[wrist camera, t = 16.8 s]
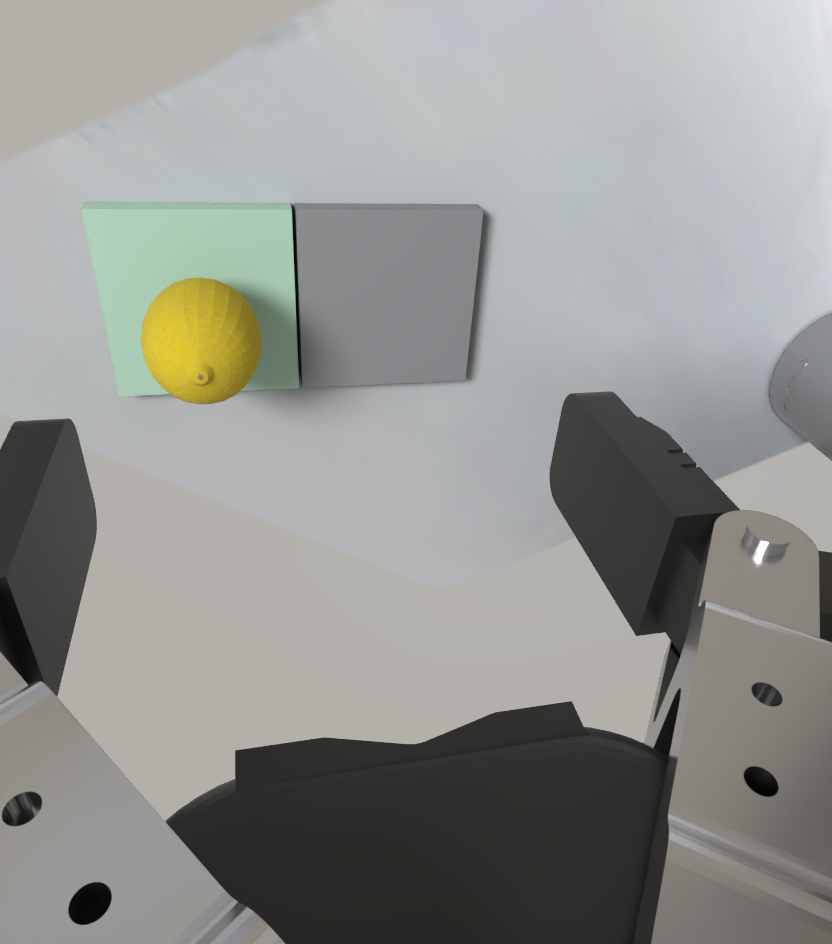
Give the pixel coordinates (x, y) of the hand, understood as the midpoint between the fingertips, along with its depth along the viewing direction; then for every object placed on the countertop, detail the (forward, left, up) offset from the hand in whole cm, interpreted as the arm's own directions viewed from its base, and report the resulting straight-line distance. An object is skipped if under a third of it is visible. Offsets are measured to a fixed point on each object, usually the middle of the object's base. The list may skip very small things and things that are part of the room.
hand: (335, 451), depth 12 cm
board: (-1, +8, -28) cm, 29 cm away
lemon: (+4, +8, -27) cm, 29 cm away
